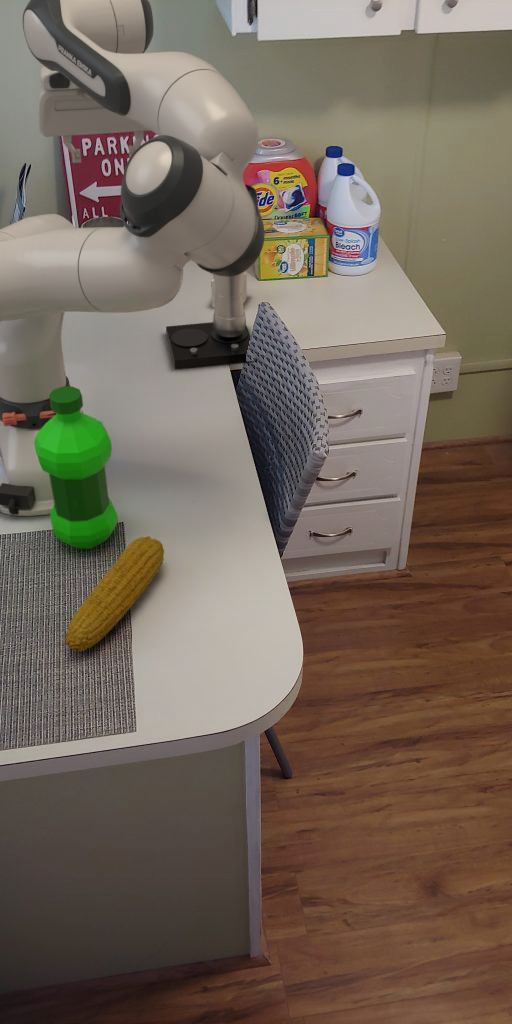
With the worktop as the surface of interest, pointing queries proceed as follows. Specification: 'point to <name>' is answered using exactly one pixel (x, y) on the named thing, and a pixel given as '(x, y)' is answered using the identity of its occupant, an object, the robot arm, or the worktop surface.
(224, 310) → the plastic bottle
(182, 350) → the hot plate
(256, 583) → the worktop surface
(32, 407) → the robot arm
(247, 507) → the worktop surface
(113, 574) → the food
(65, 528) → the plastic bottle
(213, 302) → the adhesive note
